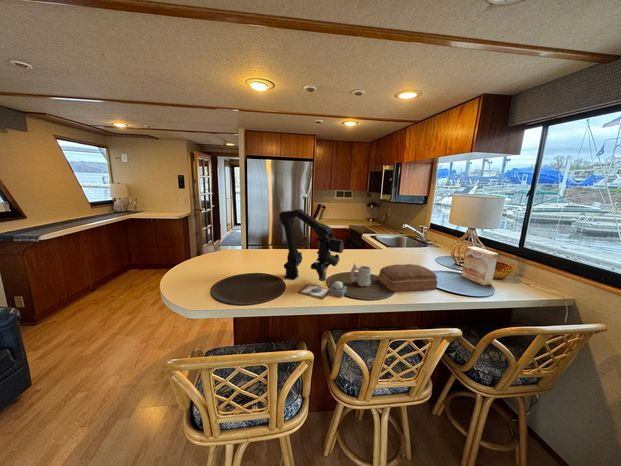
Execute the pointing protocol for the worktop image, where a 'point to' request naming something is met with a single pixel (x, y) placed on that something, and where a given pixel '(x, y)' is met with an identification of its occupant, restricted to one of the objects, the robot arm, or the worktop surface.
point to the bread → (407, 277)
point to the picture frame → (314, 291)
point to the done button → (338, 285)
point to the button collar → (337, 291)
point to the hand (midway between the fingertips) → (322, 276)
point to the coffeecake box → (479, 265)
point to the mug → (361, 275)
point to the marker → (323, 275)
